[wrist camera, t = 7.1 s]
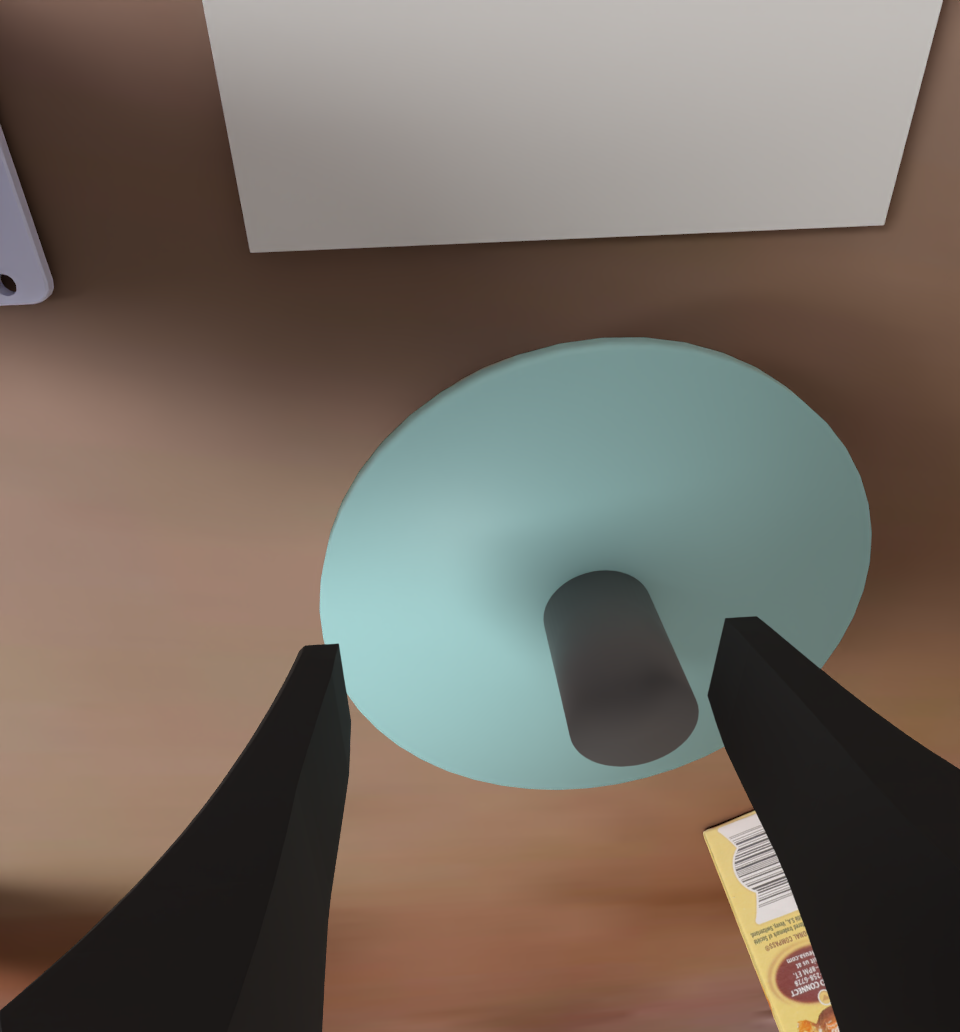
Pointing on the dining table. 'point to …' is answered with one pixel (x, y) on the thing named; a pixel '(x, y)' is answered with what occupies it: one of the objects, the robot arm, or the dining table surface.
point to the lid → (586, 558)
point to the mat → (562, 116)
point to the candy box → (771, 925)
